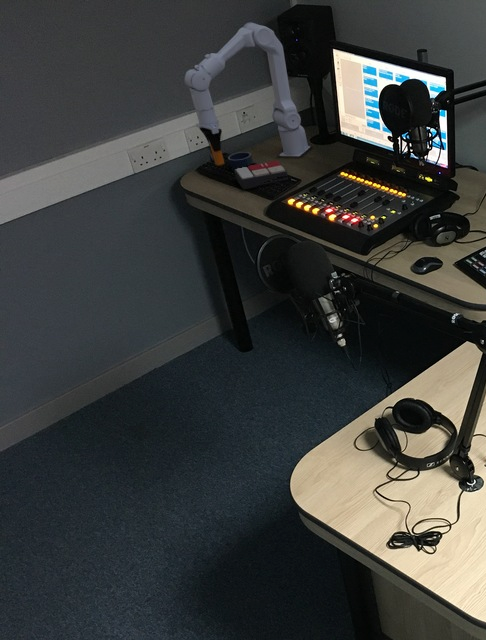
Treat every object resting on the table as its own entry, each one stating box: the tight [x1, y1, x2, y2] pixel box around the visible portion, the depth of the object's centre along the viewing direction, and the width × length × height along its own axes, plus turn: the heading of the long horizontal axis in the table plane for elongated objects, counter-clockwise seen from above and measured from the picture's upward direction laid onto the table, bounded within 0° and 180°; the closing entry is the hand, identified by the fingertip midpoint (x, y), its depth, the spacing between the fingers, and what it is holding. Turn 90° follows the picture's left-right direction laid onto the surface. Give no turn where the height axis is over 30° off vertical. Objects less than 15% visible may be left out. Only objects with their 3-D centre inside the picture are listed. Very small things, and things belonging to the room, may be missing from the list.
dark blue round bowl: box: [227, 151, 255, 171], centre depth 289 cm, size 8×8×4 cm
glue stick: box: [208, 142, 225, 166], centre depth 280 cm, size 3×3×8 cm
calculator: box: [233, 160, 289, 190], centre depth 278 cm, size 11×4×15 cm
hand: (216, 149), depth 279 cm, fingers closed on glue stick, 3 cm apart
